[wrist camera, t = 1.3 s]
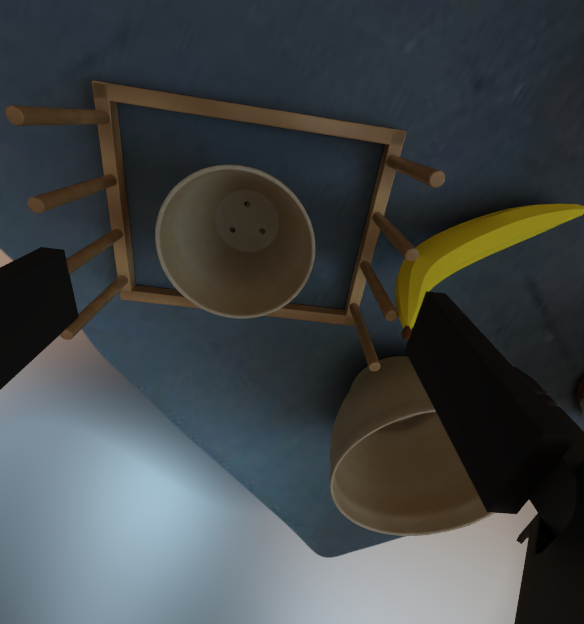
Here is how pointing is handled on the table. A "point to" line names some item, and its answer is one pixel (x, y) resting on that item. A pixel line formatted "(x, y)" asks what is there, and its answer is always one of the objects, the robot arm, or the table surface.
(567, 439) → the robot arm
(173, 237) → the flower pot
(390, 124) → the table surface
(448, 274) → the banana
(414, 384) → the planter bowl
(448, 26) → the table surface
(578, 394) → the mug
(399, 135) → the rack
